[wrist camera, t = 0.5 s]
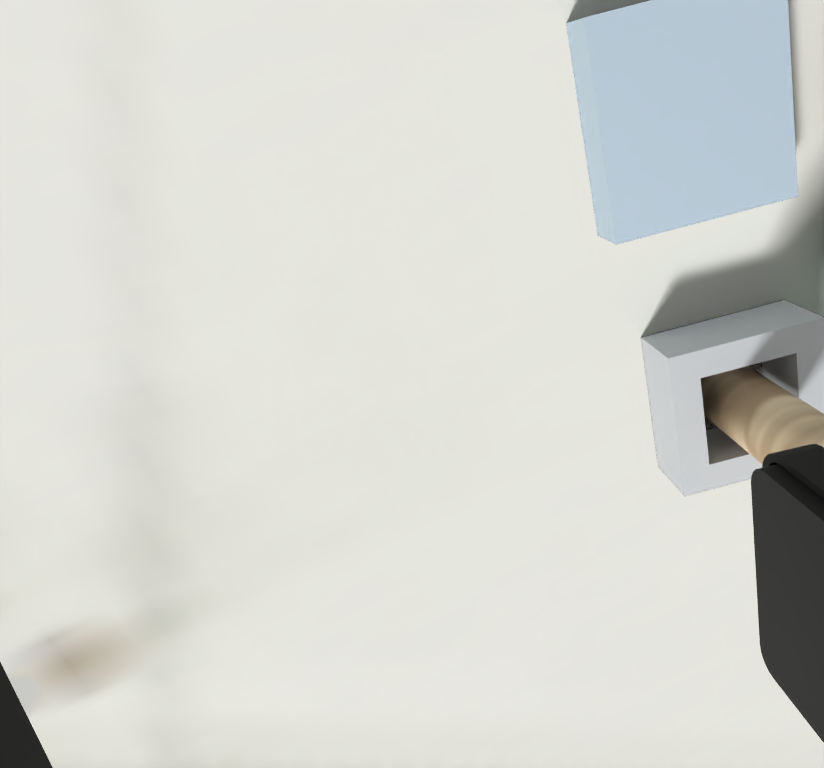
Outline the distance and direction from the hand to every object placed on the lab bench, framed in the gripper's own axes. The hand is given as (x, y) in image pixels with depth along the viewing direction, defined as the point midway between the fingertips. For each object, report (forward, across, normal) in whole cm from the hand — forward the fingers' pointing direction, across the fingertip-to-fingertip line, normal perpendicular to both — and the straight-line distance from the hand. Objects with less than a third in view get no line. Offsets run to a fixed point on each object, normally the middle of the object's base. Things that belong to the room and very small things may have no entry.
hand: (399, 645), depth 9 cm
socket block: (+30, -18, +12) cm, 37 cm away
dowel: (+30, -18, +12) cm, 37 cm away
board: (+30, -17, -3) cm, 35 cm away
